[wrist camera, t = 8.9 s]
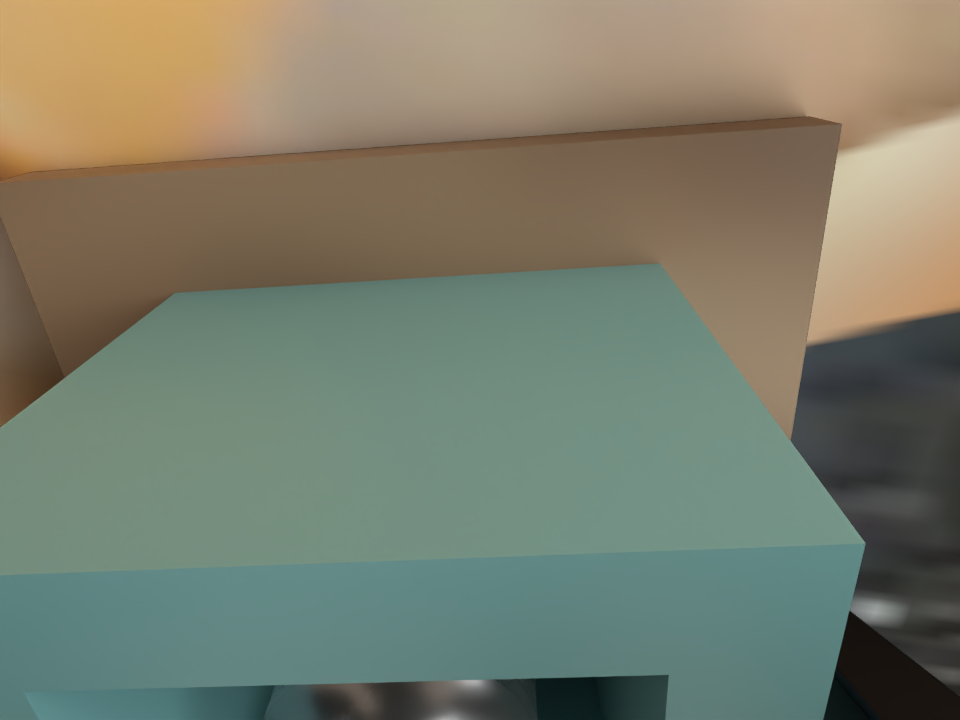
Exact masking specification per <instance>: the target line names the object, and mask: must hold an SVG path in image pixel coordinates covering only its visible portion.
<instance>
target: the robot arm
mask: <svg viewBox="0 0 960 720" xmlns="http://www.w3.org/2000/svg"><path fill="white" fill-rule="evenodd" d="M823 720H960V696H958V695H957V694H956V693H955V692H953V691H952V690H951V689H949V688H948V687H947V686H946V685H944V684H943V683H942V682H941V681H939V680H938V679H937V678H935V677H934V676H933V675H932V674H930V673H929V672H928V671H926V670H925V669H924V668H923V667H921V666H920V665H919V664H917V663H916V662H915V661H914V660H912V659H911V658H910V657H908V656H907V655H906V654H905V653H903V652H902V651H901V650H899V649H898V648H897V647H896V646H894V645H893V644H892V643H890V642H889V641H888V640H887V639H885V638H884V637H883V636H881V635H880V634H879V633H878V632H876V631H875V630H874V629H872V628H871V627H870V626H869V625H867V624H866V623H865V622H863V621H862V620H861V619H860V618H858V617H857V616H856V615H854V614H853V613H852V612H851V611H849V614H848V619H847V623H846V627H845V631H844V635H843V639H842V643H841V648H840V652H839V656H838V660H837V664H836V668H835V673H834V677H833V681H832V685H831V689H830V693H829V697H828V702H827V706H826V710H825V714H824V718H823Z"/></svg>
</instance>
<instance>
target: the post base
mask: <svg viewBox="0 0 960 720" xmlns="http://www.w3.org/2000/svg"><path fill="white" fill-rule="evenodd" d="M841 127H842V124H840V123H835V122H831V121H827V120H823V119H818V118H814V117H796V118H782V119H768V120H754V121H740V122H726V123H712V124H698V125H684V126H670V127H656V128H641V129H627V130H613V131H599V132H585V133H571V134H557V135H543V136H529V137H515V138H501V139H487V140H473V141H459V142H445V143H431V144H417V145H403V146H389V147H375V148H361V149H347V150H333V151H319V152H305V153H291V154H277V155H263V156H249V157H235V158H221V159H207V160H193V161H179V162H165V163H151V164H137V165H123V166H109V167H95V168H81V169H67V170H53V171H39V172H30V173H27V174H23V175H19V176H16V177H12V178H8V179H5V180H1V181H0V217H1V220H2V222H3V225H4V227H5V230H6V232H7V235H8V238H9V240H10V243H11V245H12V248H13V250H14V253H15V255H16V258H17V260H18V263H19V265H20V268H21V270H22V273H23V275H24V278H25V281H26V283H27V286H28V288H29V291H30V293H31V296H32V298H33V301H34V303H35V306H36V308H37V311H38V313H39V316H40V318H41V321H42V324H43V326H44V329H45V331H46V334H47V336H48V339H49V341H50V344H51V346H52V349H53V351H54V354H55V356H56V359H57V361H58V364H59V367H60V369H61V372H62V374H63V377H64V378H65V377H67V376H68V375H69V374H71V373H72V372H73V371H74V370H76V369H77V368H78V367H80V366H81V365H82V364H84V363H85V362H86V361H87V360H89V359H90V358H91V357H93V356H94V355H95V354H97V353H98V352H99V351H100V350H102V349H103V348H104V347H106V346H107V345H108V344H110V343H111V342H112V341H113V340H115V339H116V338H117V337H119V336H120V335H121V334H123V333H124V332H125V331H126V330H128V329H129V328H130V327H132V326H133V325H134V324H136V323H137V322H138V321H139V320H141V319H142V318H143V317H145V316H146V315H147V314H149V313H150V312H151V311H152V310H154V309H155V308H156V307H158V306H159V305H160V304H161V303H163V302H164V301H165V300H167V299H168V298H169V297H171V296H172V295H173V294H174V293H182V292H198V291H215V290H231V289H248V288H264V287H280V286H297V285H313V284H330V283H346V282H363V281H379V280H396V279H412V278H428V277H445V276H461V275H478V274H494V273H511V272H527V271H544V270H560V269H576V268H593V267H609V266H626V265H642V264H659V263H660V264H661V265H662V267H663V268H664V269H665V271H666V272H667V273H668V275H669V276H670V277H671V279H672V280H673V282H674V283H675V284H676V286H677V287H678V288H679V290H680V291H681V293H682V294H683V295H684V297H685V298H686V299H687V301H688V302H689V303H690V305H691V306H692V308H693V309H694V310H695V312H696V313H697V314H698V316H699V317H700V318H701V320H702V321H703V323H704V324H705V325H706V327H707V328H708V329H709V331H710V332H711V333H712V335H713V336H714V338H715V339H716V340H717V342H718V343H719V344H720V346H721V347H722V348H723V350H724V351H725V353H726V354H727V355H728V357H729V358H730V359H731V361H732V362H733V363H734V365H735V366H736V368H737V369H738V370H739V372H740V373H741V374H742V376H743V377H744V378H745V380H746V381H747V383H748V384H749V385H750V387H751V388H752V389H753V391H754V392H755V393H756V395H757V396H758V398H759V399H760V400H761V402H762V403H763V404H764V406H765V407H766V408H767V410H768V411H769V413H770V414H771V415H772V417H773V418H774V419H775V421H776V422H777V423H778V425H779V426H780V428H781V429H782V430H783V432H784V433H785V434H786V436H787V437H788V439H789V440H790V441H791V435H792V428H793V422H794V416H795V410H796V404H797V398H798V391H799V385H800V379H801V373H802V367H803V361H804V354H805V348H806V342H807V336H808V329H809V324H810V318H811V311H812V304H813V299H814V293H815V287H816V280H817V274H818V268H819V262H820V256H821V250H822V244H823V237H824V230H825V225H826V219H827V213H828V206H829V200H830V194H831V188H832V182H833V175H834V170H835V164H836V157H837V151H838V145H839V139H840V133H841ZM263 720H537V703H536V685H535V678H531V679H493V680H455V681H416V682H378V683H340V684H302V685H275V687H274V690H273V693H272V696H271V699H270V702H269V704H268V707H267V710H266V713H265V716H264V719H263Z"/></svg>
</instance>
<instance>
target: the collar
mask: <svg viewBox="0 0 960 720" xmlns="http://www.w3.org/2000/svg"><path fill="white" fill-rule="evenodd" d="M864 548H865V542H864V541H863V539H862V538H861V537H860V535H859V534H858V533H857V531H856V530H855V529H854V527H853V526H852V524H851V523H850V522H849V520H848V519H847V518H846V516H845V515H844V514H843V512H842V511H841V509H840V508H839V507H838V505H837V504H836V503H835V501H834V500H833V499H832V497H831V496H830V494H829V493H828V492H827V490H826V489H825V488H824V486H823V485H822V484H821V482H820V481H819V479H818V478H817V477H816V475H815V474H814V473H813V471H812V470H811V469H810V467H809V466H808V464H807V463H806V462H805V460H804V459H803V458H802V456H801V455H800V454H799V452H798V451H797V449H796V448H795V447H794V445H793V444H792V443H791V441H790V440H789V439H788V437H787V436H786V434H785V433H784V432H783V430H782V429H781V428H780V426H779V425H778V423H777V422H776V421H775V419H774V418H773V417H772V415H771V414H770V413H769V411H768V410H767V408H766V407H765V406H764V404H763V403H762V402H761V400H760V399H759V398H758V396H757V395H756V393H755V392H754V391H753V389H752V388H751V387H750V385H749V384H748V383H747V381H746V380H745V378H744V377H743V376H742V374H741V373H740V372H739V370H738V369H737V368H736V366H735V365H734V363H733V362H732V361H731V359H730V358H729V357H728V355H727V354H726V353H725V351H724V350H723V348H722V347H721V346H720V344H719V343H718V342H717V340H716V339H715V338H714V336H713V335H712V333H711V332H710V331H709V329H708V328H707V327H706V325H705V324H704V323H703V321H702V320H701V318H700V317H699V316H698V314H697V313H696V312H695V310H694V309H693V308H692V306H691V305H690V303H689V302H688V301H687V299H686V298H685V297H684V295H683V294H682V293H681V291H680V290H679V288H678V287H677V286H676V284H675V283H674V282H673V280H672V279H671V277H670V276H669V275H668V273H667V272H666V271H665V269H664V268H663V267H662V265H661V264H660V263H659V264H642V265H626V266H609V267H593V268H576V269H560V270H544V271H527V272H511V273H494V274H478V275H461V276H445V277H428V278H412V279H396V280H379V281H363V282H346V283H330V284H313V285H297V286H280V287H264V288H248V289H231V290H215V291H198V292H182V293H174V294H173V295H172V296H171V297H169V298H168V299H167V300H165V301H164V302H163V303H161V304H160V305H159V306H158V307H156V308H155V309H154V310H152V311H151V312H150V313H149V314H147V315H146V316H145V317H143V318H142V319H141V320H139V321H138V322H137V323H136V324H134V325H133V326H132V327H130V328H129V329H128V330H126V331H125V332H124V333H123V334H121V335H120V336H119V337H117V338H116V339H115V340H113V341H112V342H111V343H110V344H108V345H107V346H106V347H104V348H103V349H102V350H100V351H99V352H98V353H97V354H95V355H94V356H93V357H91V358H90V359H89V360H87V361H86V362H85V363H84V364H82V365H81V366H80V367H78V368H77V369H76V370H74V371H73V372H72V373H71V374H69V375H68V376H67V377H65V378H64V379H63V380H62V381H60V382H59V383H58V384H56V385H55V386H54V387H52V388H51V389H50V390H49V391H47V392H46V393H45V394H43V395H42V396H41V397H39V398H38V399H37V400H36V401H34V402H33V403H32V404H30V405H29V406H28V407H26V408H25V409H24V410H23V411H21V412H20V413H19V414H17V415H16V416H15V417H13V418H12V419H11V420H10V421H8V422H7V423H6V424H4V425H3V426H2V427H0V720H263V719H264V716H265V713H266V710H267V707H268V704H269V702H270V699H271V696H272V693H273V690H274V687H275V685H302V684H340V683H378V682H416V681H455V680H493V679H531V678H535V685H536V703H537V720H823V718H824V714H825V710H826V706H827V702H828V697H829V693H830V689H831V685H832V681H833V677H834V673H835V668H836V664H837V660H838V656H839V652H840V648H841V643H842V639H843V635H844V631H845V627H846V623H847V619H848V614H849V610H850V606H851V602H852V598H853V594H854V589H855V585H856V581H857V577H858V573H859V569H860V564H861V560H862V556H863V552H864Z"/></svg>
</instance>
